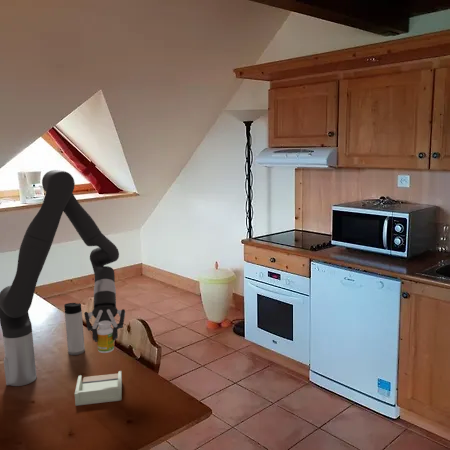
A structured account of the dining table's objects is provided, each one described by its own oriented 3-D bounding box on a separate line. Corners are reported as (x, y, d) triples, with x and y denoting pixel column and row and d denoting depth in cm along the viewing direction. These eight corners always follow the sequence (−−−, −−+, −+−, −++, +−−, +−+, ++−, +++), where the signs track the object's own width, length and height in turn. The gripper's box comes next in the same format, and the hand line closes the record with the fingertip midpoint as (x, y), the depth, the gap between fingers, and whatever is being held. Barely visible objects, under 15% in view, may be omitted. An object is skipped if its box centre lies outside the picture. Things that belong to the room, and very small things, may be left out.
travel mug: (64, 354, 187) (59, 305, 183) (75, 347, 193) (71, 299, 189) (77, 356, 184) (73, 306, 181) (88, 349, 190) (84, 301, 187)
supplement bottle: (110, 353, 160) (108, 326, 158) (95, 352, 161) (93, 325, 159) (116, 347, 165) (115, 320, 163) (102, 346, 166) (100, 319, 164)
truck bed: (75, 405, 150) (74, 393, 149) (80, 379, 167) (80, 368, 166) (121, 400, 153) (120, 388, 152) (122, 375, 169) (121, 364, 168)
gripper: (82, 291, 165) (81, 337, 156) (125, 288, 168) (127, 334, 159) (84, 301, 171) (83, 346, 162) (125, 298, 174) (127, 342, 165)
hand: (105, 340), depth 160 cm, fingers closed on supplement bottle, 5 cm apart
